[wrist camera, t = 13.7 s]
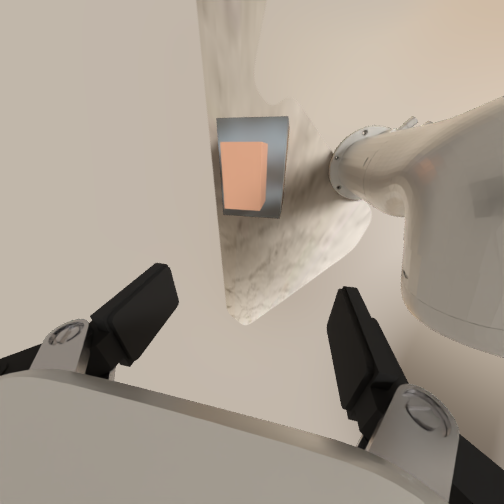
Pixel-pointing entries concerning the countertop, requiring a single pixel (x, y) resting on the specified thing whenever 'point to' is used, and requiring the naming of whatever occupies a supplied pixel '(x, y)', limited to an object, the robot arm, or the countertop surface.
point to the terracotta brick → (244, 174)
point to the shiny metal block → (277, 139)
